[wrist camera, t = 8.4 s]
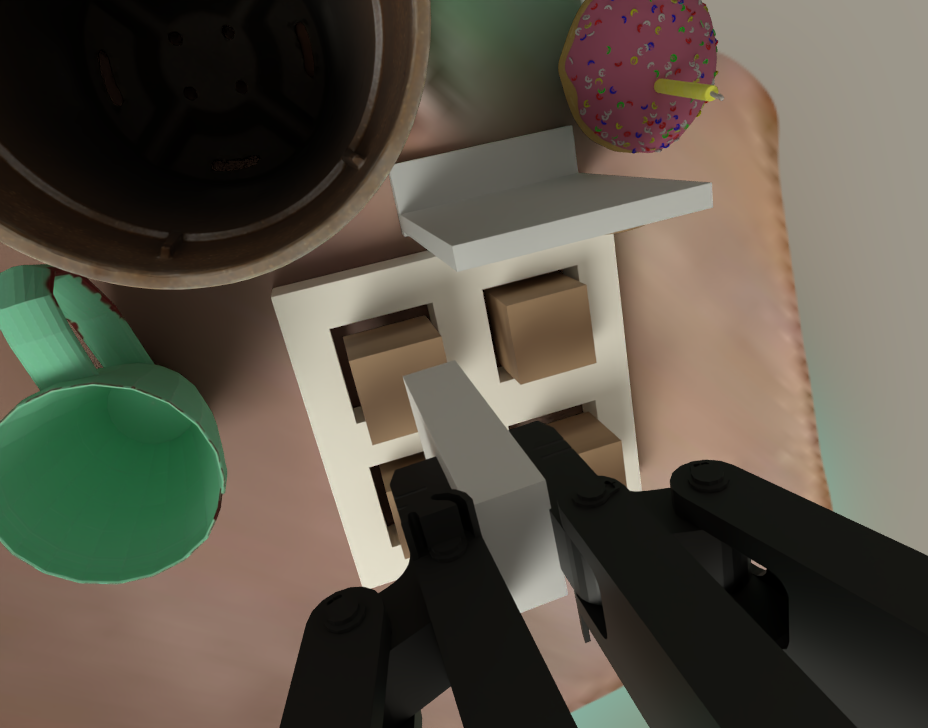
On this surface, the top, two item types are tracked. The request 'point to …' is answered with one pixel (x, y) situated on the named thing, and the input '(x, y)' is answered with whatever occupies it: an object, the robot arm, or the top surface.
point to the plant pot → (198, 131)
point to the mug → (99, 441)
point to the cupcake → (639, 70)
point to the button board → (466, 341)
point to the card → (525, 199)
